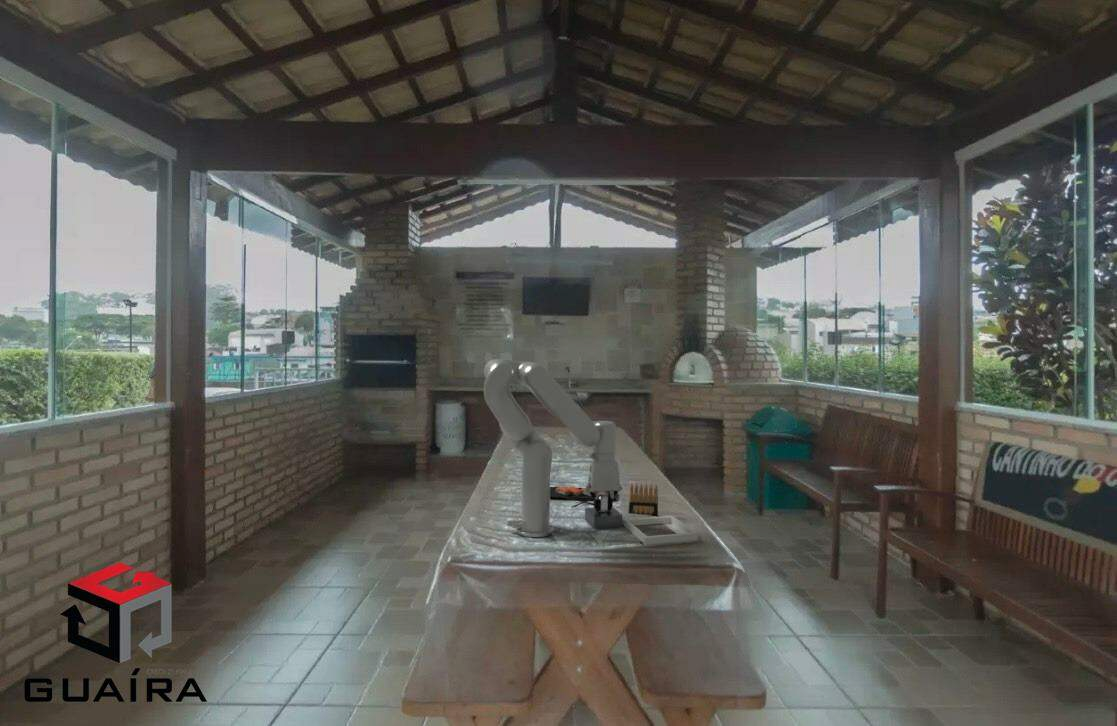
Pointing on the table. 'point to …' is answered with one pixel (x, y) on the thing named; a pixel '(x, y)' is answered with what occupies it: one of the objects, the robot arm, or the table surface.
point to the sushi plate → (573, 494)
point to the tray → (671, 522)
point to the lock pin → (603, 503)
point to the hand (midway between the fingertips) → (603, 509)
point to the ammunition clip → (643, 500)
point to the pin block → (603, 518)
